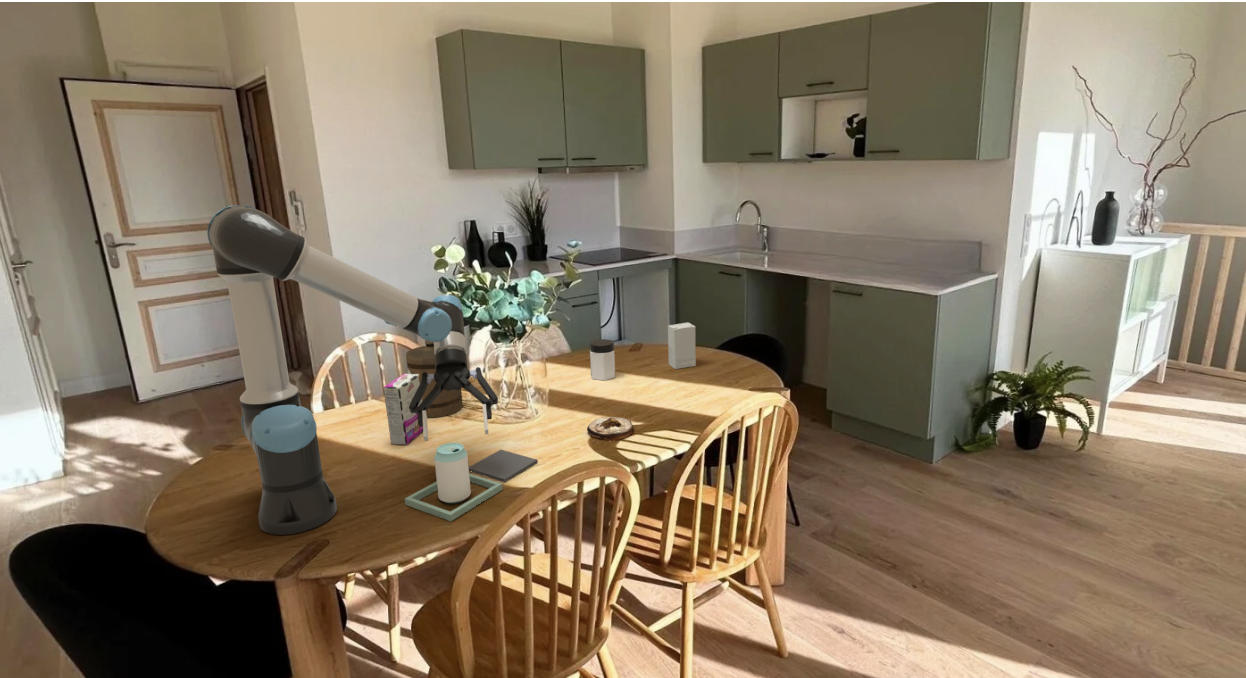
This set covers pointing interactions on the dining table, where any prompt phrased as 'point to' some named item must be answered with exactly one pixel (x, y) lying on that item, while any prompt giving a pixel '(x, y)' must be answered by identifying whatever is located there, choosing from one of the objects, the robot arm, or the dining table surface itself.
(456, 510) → the corral
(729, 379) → the dining table surface
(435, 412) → the wooden container
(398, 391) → the candy bar box
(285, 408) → the robot arm
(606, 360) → the jar
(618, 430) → the sushi roll
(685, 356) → the skincare box
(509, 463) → the coaster
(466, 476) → the can
